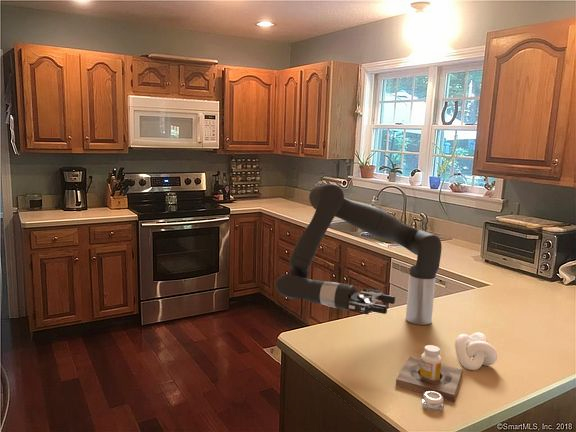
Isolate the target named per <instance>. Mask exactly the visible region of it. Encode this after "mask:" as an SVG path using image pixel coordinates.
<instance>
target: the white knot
mask: <svg viewBox="0 0 576 432" xmlns="http://www.w3.org/2000/svg"><path fill="white" fill-rule="evenodd" d="M454 348H455V353H456V357H457V359H458V361H459V363H460V364H461V365H462V367H464V368H465V369H466V370H469V371H476V370H479V369H480V368H482V365H483V366H487V367H489V366H492V365H493V366H494V364H496V362H497V361H498V353H497V350H496V349H495V348H494V346H493V345H491V344H490V342H489V343H488V338H487V337H486V335H485V334H484V333H482V332H479V331H478V332H474V333H471V334H470V335H469V334H466V333H461V334H459V335H458V336H457V337H456V339H455V343H454ZM471 358H472V359H471Z"/></svg>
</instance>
